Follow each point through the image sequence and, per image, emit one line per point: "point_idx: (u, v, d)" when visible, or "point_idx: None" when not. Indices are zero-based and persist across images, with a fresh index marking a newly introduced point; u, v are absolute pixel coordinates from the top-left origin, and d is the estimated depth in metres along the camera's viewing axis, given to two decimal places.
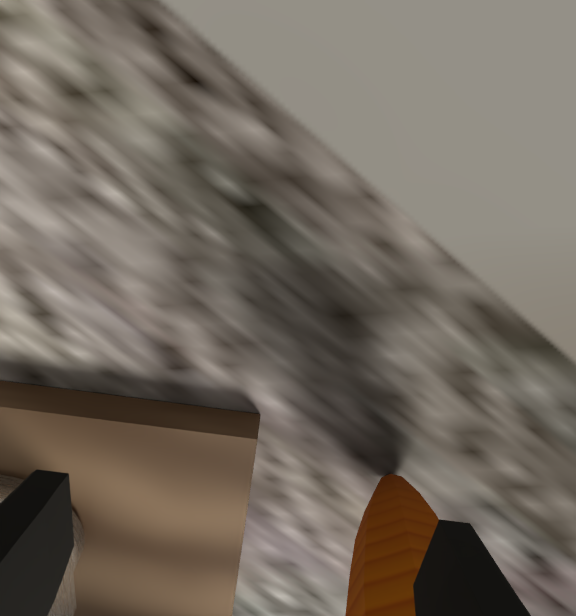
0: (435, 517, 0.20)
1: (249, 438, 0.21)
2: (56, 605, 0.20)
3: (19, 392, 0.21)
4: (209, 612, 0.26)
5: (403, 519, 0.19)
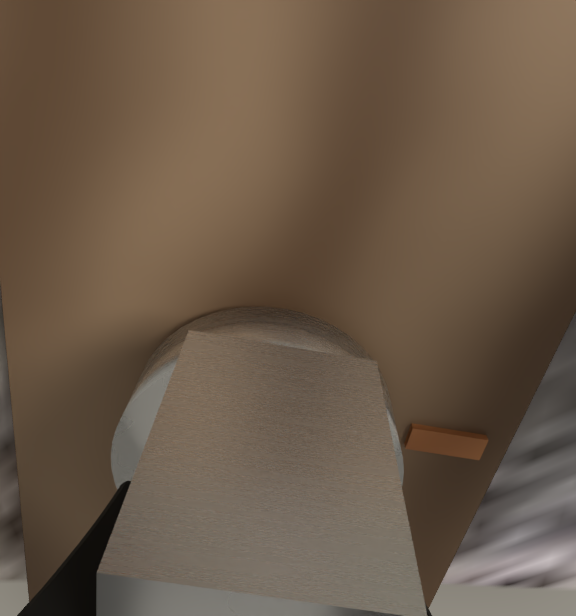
0: None
1: None
2: (228, 389, 0.09)
3: None
4: None
5: None
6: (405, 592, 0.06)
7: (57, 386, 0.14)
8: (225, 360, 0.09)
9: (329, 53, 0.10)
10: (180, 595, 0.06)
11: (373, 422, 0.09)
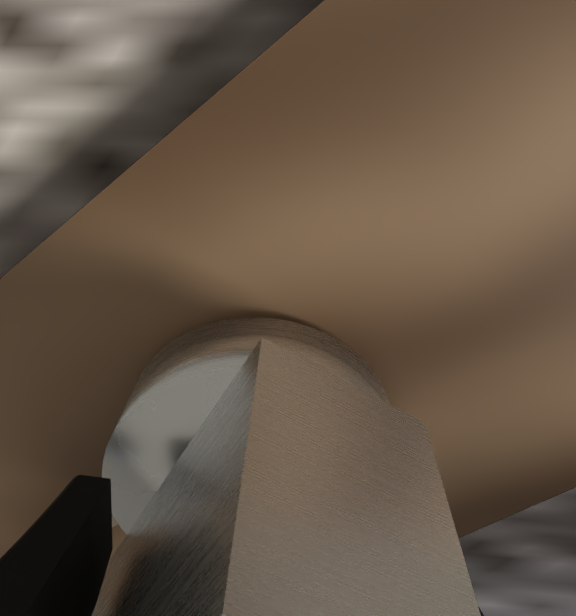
0: None
1: None
2: (307, 418, 0.08)
3: None
4: None
5: None
6: None
7: (97, 274, 0.12)
8: (299, 383, 0.09)
9: None
10: None
11: (434, 492, 0.09)
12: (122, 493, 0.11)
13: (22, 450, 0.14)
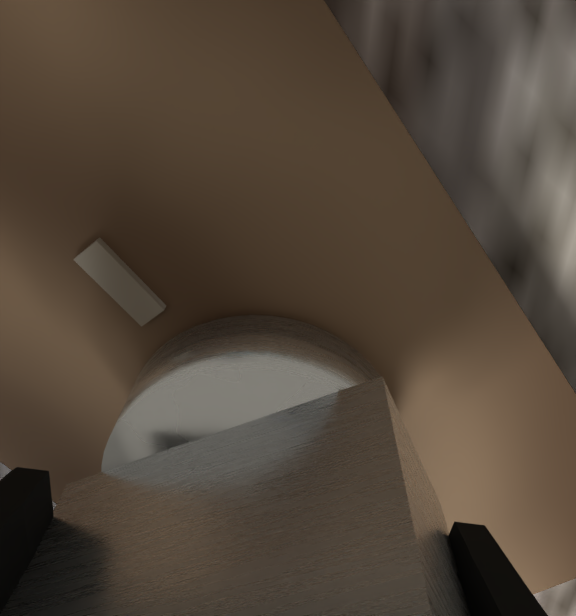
0: None
1: None
2: (413, 476, 0.09)
3: None
4: None
5: None
6: None
7: (445, 300, 0.12)
8: (403, 437, 0.09)
9: None
10: None
11: (459, 578, 0.10)
12: (133, 435, 0.11)
13: (197, 166, 0.10)
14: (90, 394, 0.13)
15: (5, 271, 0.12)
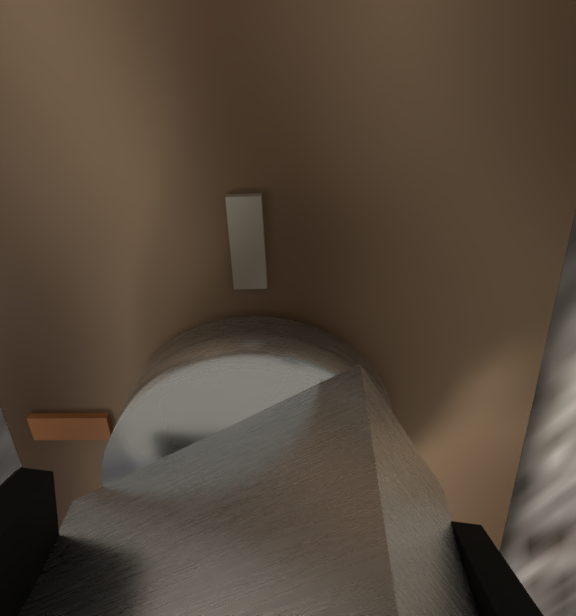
0: None
1: None
2: (396, 461, 0.09)
3: None
4: None
5: None
6: None
7: (479, 411, 0.13)
8: (386, 422, 0.09)
9: None
10: None
11: (460, 561, 0.09)
12: (126, 447, 0.11)
13: (395, 196, 0.11)
14: (126, 314, 0.12)
15: (144, 161, 0.10)
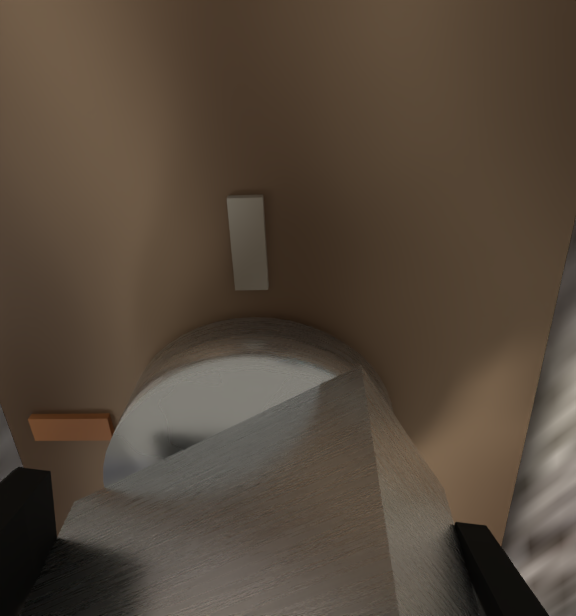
0: None
1: None
2: (397, 462, 0.09)
3: None
4: None
5: None
6: None
7: (480, 412, 0.13)
8: (387, 423, 0.09)
9: None
10: None
11: (461, 561, 0.09)
12: (128, 448, 0.11)
13: (396, 197, 0.11)
14: (127, 315, 0.12)
15: (145, 162, 0.10)
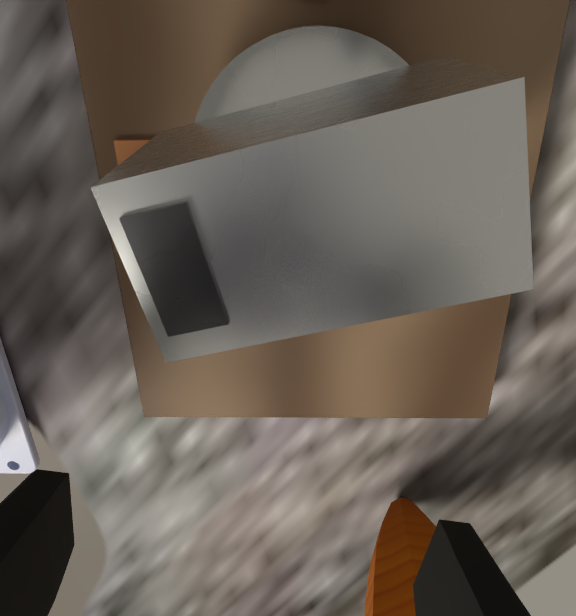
0: None
1: (487, 411, 0.20)
2: None
3: None
4: (184, 394, 0.20)
5: None
6: None
7: None
8: None
9: (316, 383, 0.20)
10: (514, 141, 0.08)
11: None
12: (232, 85, 0.13)
13: None
14: (207, 30, 0.14)
15: None
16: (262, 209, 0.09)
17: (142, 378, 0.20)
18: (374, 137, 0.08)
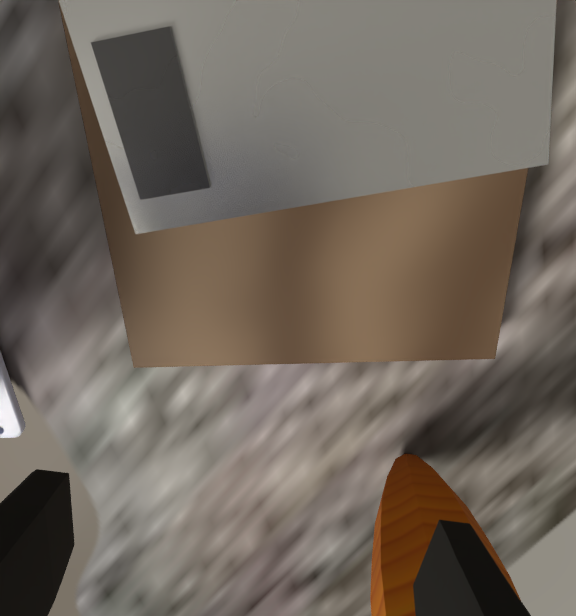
0: None
1: (495, 351, 0.19)
2: None
3: None
4: (175, 340, 0.19)
5: (476, 521, 0.20)
6: None
7: None
8: None
9: (314, 325, 0.19)
10: None
11: None
12: None
13: None
14: None
15: None
16: (257, 43, 0.08)
17: (130, 324, 0.19)
18: None
